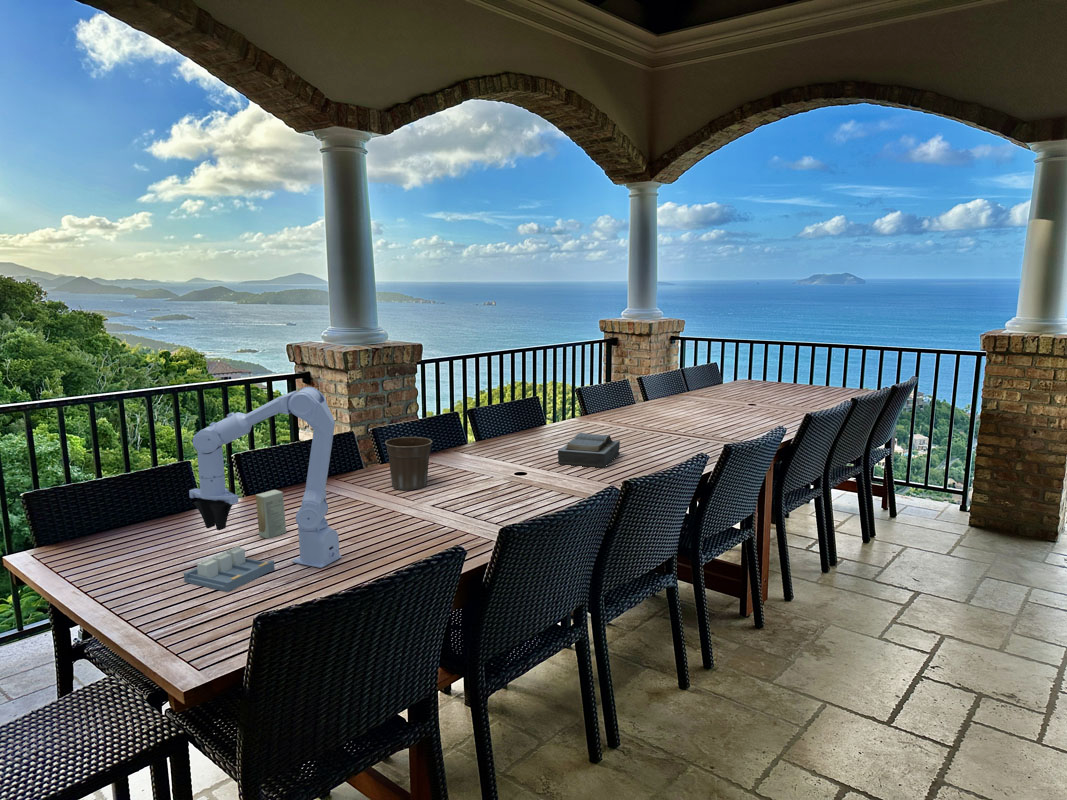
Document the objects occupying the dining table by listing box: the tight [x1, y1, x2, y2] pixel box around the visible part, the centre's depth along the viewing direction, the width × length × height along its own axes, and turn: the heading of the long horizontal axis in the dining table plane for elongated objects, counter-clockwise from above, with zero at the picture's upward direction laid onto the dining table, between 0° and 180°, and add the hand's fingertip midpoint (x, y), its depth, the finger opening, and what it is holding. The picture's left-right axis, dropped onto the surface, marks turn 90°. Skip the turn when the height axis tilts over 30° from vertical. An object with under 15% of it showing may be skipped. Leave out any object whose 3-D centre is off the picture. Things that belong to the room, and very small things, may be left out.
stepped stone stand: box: [557, 432, 621, 469], centre depth 282 cm, size 23×27×10 cm
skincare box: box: [255, 489, 287, 540], centre depth 197 cm, size 6×4×12 cm
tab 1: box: [196, 557, 218, 578], centre depth 166 cm, size 3×3×4 cm
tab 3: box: [225, 545, 246, 565], centre depth 174 cm, size 3×3×4 cm
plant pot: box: [384, 436, 433, 492], centre depth 245 cm, size 16×16×16 cm
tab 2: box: [211, 551, 232, 572], centre depth 170 cm, size 3×3×4 cm
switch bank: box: [183, 557, 275, 593], centre depth 169 cm, size 14×14×2 cm
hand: (216, 528), depth 175 cm, fingers open, 3 cm apart
